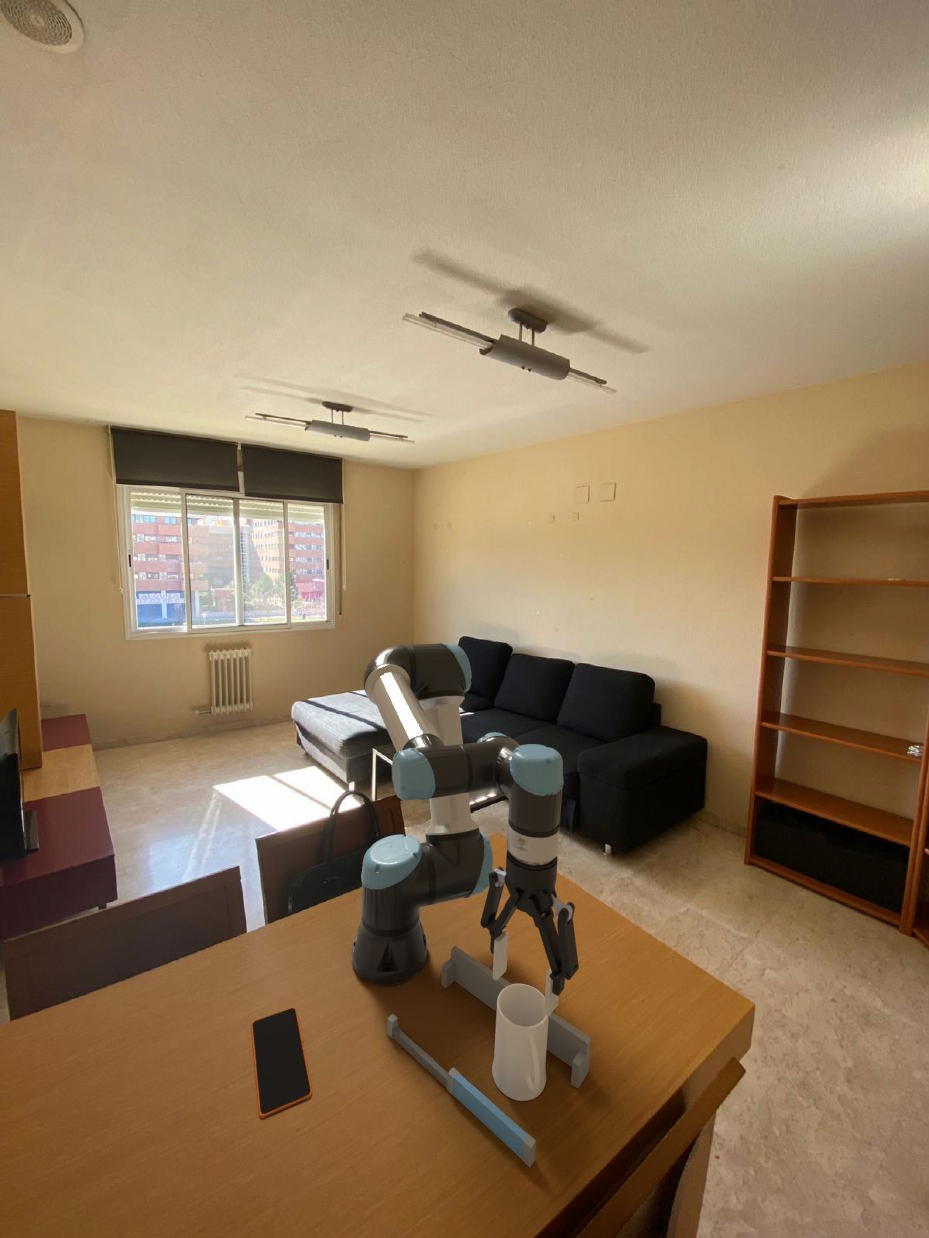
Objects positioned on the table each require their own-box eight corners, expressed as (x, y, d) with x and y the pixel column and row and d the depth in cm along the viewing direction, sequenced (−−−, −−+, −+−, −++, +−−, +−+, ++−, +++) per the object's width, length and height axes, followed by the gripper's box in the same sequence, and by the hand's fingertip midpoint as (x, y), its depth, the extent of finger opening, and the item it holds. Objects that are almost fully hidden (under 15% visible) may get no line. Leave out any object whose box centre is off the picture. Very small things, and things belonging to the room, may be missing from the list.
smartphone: (259, 1122, 72) (259, 1117, 72) (250, 1025, 87) (250, 1021, 86) (313, 1098, 75) (313, 1093, 75) (296, 1009, 90) (296, 1004, 90)
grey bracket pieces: (387, 1034, 86) (388, 1001, 85) (454, 973, 99) (455, 945, 98) (529, 1167, 67) (532, 1128, 67) (588, 1071, 80) (590, 1037, 80)
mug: (559, 1122, 73) (564, 1048, 72) (501, 1128, 72) (505, 1052, 71) (538, 1045, 85) (542, 980, 83) (488, 1049, 84) (491, 983, 82)
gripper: (460, 834, 78) (455, 967, 81) (587, 896, 65) (576, 1054, 67) (489, 817, 84) (484, 941, 87) (611, 870, 71) (600, 1016, 73)
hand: (524, 990), depth 77 cm, fingers open, 9 cm apart
